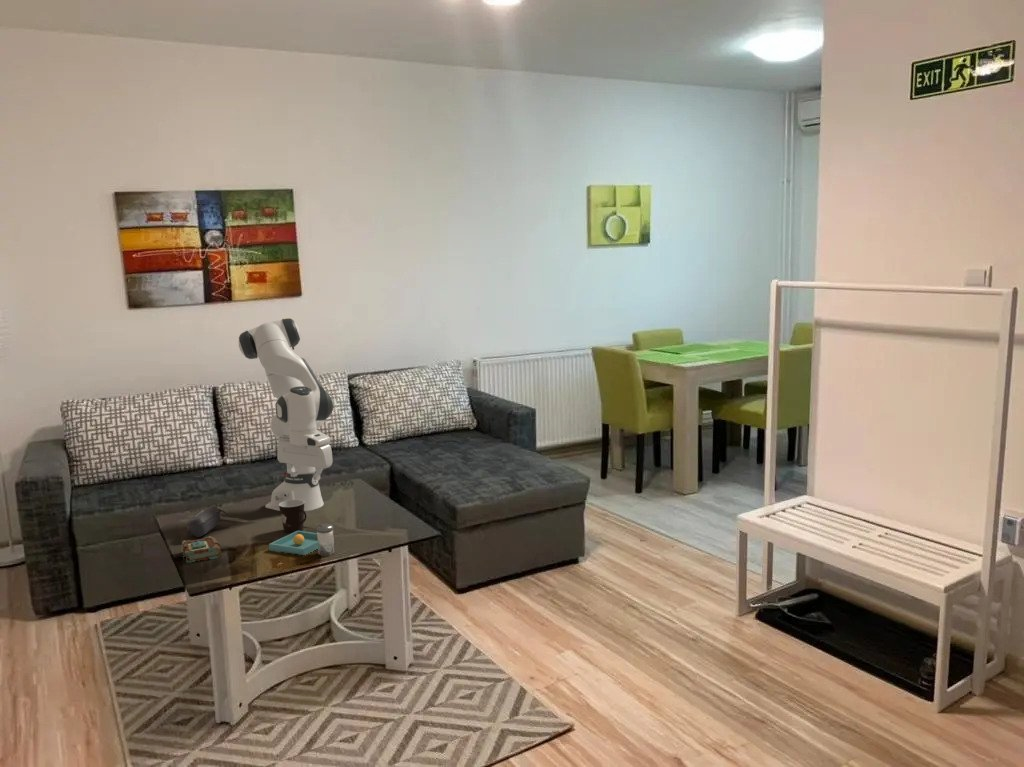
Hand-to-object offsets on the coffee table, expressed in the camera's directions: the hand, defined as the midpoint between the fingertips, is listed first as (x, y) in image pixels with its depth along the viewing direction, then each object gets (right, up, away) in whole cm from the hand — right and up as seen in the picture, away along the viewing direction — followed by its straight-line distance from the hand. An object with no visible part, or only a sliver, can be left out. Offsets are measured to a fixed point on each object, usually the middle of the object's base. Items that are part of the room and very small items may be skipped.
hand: (305, 478), depth 269 cm
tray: (-1, -23, 0) cm, 22 cm away
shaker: (+8, -23, -7) cm, 26 cm away
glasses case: (-39, -21, +18) cm, 48 cm away
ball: (-2, -22, 0) cm, 22 cm away
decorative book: (-34, -25, -3) cm, 42 cm away
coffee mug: (-8, -21, +15) cm, 26 cm away
